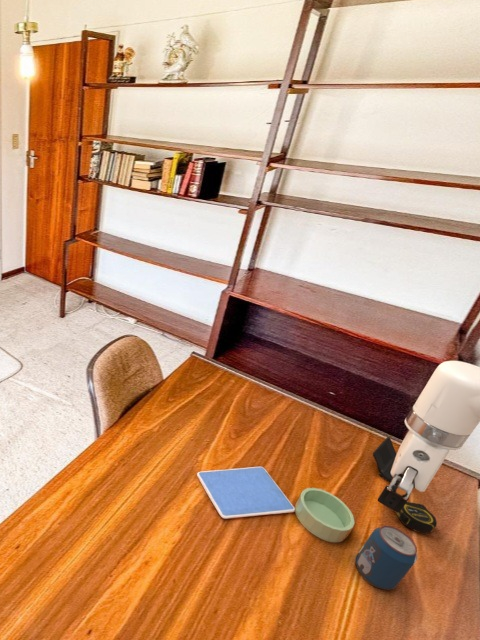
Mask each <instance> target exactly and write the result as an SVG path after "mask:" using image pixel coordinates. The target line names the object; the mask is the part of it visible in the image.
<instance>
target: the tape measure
mask: <svg viewBox="0 0 480 640" xmlns="http://www.w3.org/2000/svg"><path fill="white" fill-rule="evenodd" d="M395 514H396V517H397V519H398V520H399V521H400V522H401V523H402V524H404V525H405V526H406V527H407V528H409V529H411V530H413V531H415V532H418V533H421V534H430V533H432V532H433V531H434V530H435V528H436V526H437V524H438V521H437V519H436V517H435V515H434V514H433V513H432V512H431V511H430V510H428V508H427V507H426V506H425V505H424V504H421V503H417V502H411V501H407V502H406V504H405V505H404V506H403V508H402V509H401V511H400V512H399V513H397V512H395Z"/></svg>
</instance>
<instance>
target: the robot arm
mask: <svg viewBox="0 0 480 640" xmlns="http://www.w3.org/2000/svg"><path fill="white" fill-rule="evenodd" d="M479 424H480V366H478V365H475V364H473V363H469V362H465V361H461V360H445V361H442V363H440V364H438V365H437V367H436V368H435V370H434V371H433V373H432V375H431V376H430V378H429V380H428V381H427V383H426V385H425V386H424V388H423V390H422V391H421V393H420V394H419V396H418V397H417V399H416V401H415V403H414V404H413V406H412V408H411V409H410V411H409V412H408V414H407V416H406V417H405V419H404V425H405V426H406V428H407V429H408V431H407V433H406V435H405V436H404V438H403V440H402V442H401V443H400V446H399V448H398V450H397V452H396V454H397V455H396V457H395V460H394V463H393V465H392V467H391V468H390V470H389V473H390V474H391V475H392V476H393V479H392V481H391V482H389V484H388V485H387V484H386V485H385V486H384V488H383V490H382V491H381V493H380V494H379V496H378V498H377V502H378V503H379V504H381V505H383V506H385V507H387V508H388V509H390V510H391V511H393V512H394V513H396V512H397V513H399V512H400V511H401V509H402V508H403V506H404V505H405V504H406V502H409V499H410V495H411V493H412V491H413V490H414V489H415V490H417V491H418V492H419V493H424V492H426V490H427V488H428V487H429V485H430V483H431V482H432V480H433V479H434V477H435V476H436V474H437V472H438V471H439V469H440V468H441V466H442V464H443V463H444V461H445V459H446V458H447V456H448V454H449V453H450V451H457V450H460V449H462V447H463V446H464V444H465V443H466V442H467V440H468V439H469V437H470V436H471V435H472V433H473V432H474V430H475V429H476V428H477V426H479ZM397 480H399V481H401V482H400V483H399V485H398V486H396V485H395V483H396V481H397Z"/></svg>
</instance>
